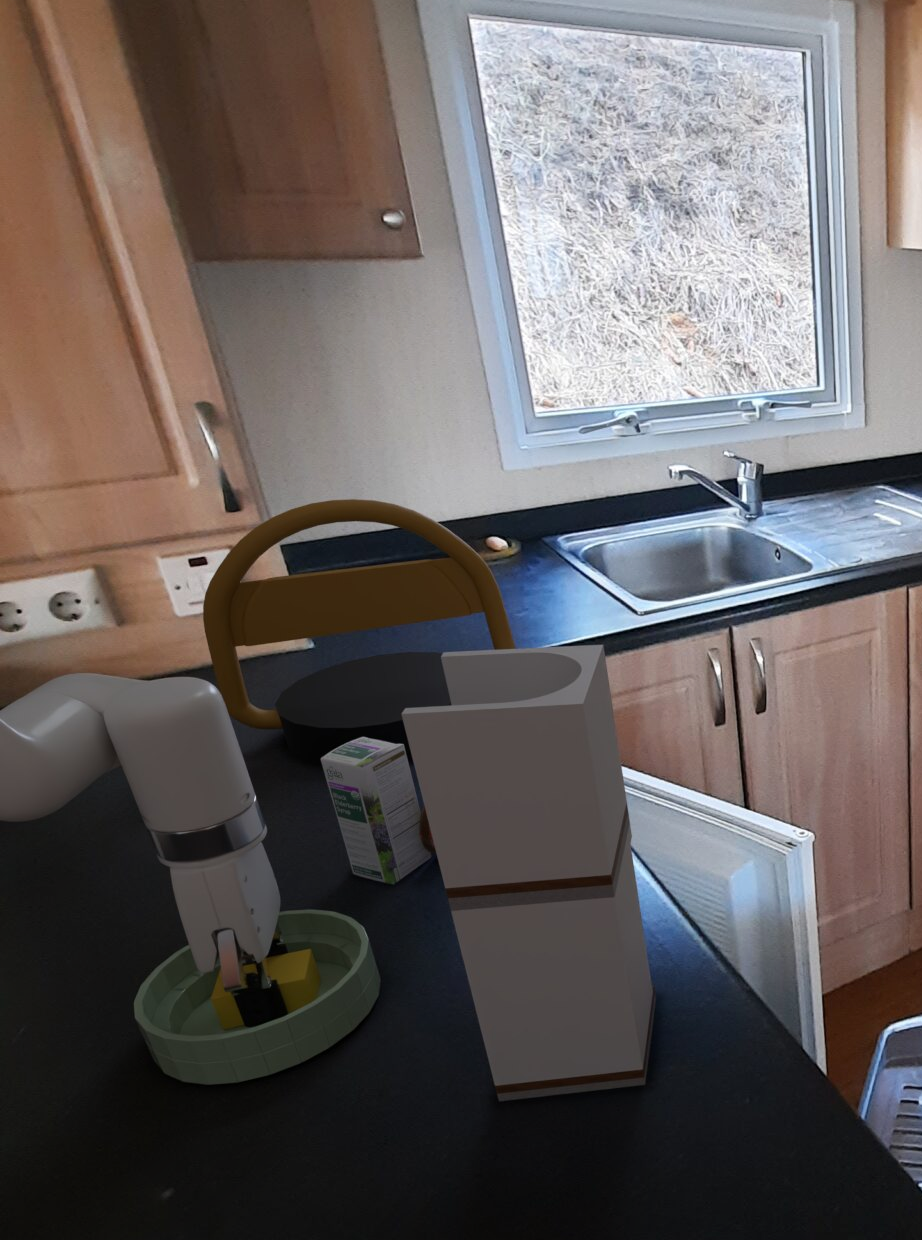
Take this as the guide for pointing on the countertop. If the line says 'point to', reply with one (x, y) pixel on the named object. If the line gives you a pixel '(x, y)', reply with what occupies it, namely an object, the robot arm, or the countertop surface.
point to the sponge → (292, 977)
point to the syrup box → (376, 808)
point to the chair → (345, 627)
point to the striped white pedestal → (539, 866)
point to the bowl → (207, 1054)
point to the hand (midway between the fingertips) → (271, 1000)
